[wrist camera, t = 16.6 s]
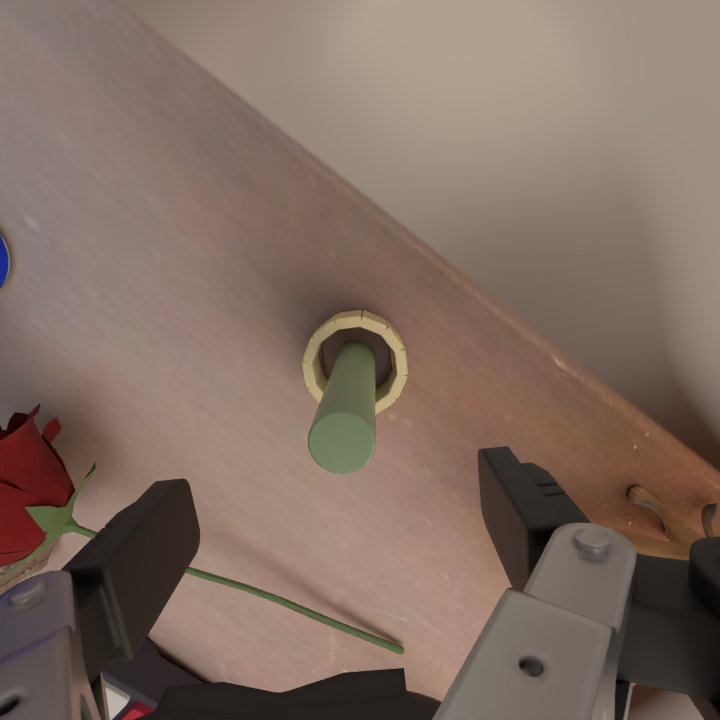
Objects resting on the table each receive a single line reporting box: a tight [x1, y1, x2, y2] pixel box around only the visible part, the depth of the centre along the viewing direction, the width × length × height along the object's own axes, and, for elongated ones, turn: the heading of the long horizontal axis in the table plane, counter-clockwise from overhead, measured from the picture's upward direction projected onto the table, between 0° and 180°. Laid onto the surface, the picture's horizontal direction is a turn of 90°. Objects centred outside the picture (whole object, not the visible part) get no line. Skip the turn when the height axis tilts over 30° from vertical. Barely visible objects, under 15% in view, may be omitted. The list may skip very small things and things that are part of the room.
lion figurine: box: [612, 486, 718, 561], centre depth 24 cm, size 15×5×9 cm, turn 102°
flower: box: [0, 404, 404, 654], centre depth 27 cm, size 11×10×30 cm
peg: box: [308, 327, 392, 474], centre depth 20 cm, size 4×4×13 cm
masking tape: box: [302, 310, 408, 414], centre depth 24 cm, size 6×6×3 cm
